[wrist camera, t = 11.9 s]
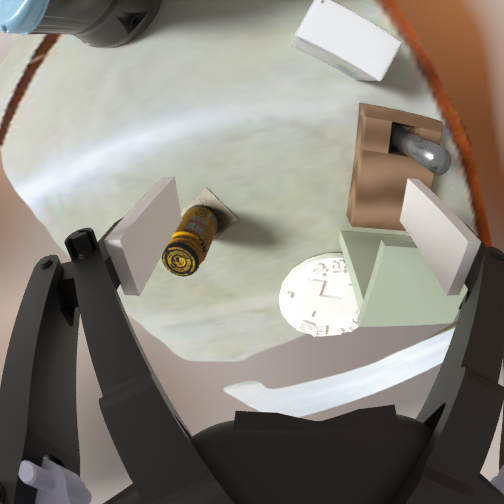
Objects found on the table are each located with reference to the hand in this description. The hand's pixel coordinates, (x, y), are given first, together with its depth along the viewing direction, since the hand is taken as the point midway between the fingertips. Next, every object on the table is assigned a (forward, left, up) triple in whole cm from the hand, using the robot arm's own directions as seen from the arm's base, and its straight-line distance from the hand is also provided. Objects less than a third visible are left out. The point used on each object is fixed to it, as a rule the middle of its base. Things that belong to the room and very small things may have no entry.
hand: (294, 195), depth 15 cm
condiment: (+15, -12, -27) cm, 33 cm away
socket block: (+4, +17, -27) cm, 32 cm away
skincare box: (-13, +6, -27) cm, 31 cm away
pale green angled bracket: (+13, +16, -27) cm, 34 cm away
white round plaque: (+30, +11, -27) cm, 42 cm away
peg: (-1, +17, -27) cm, 31 cm away
